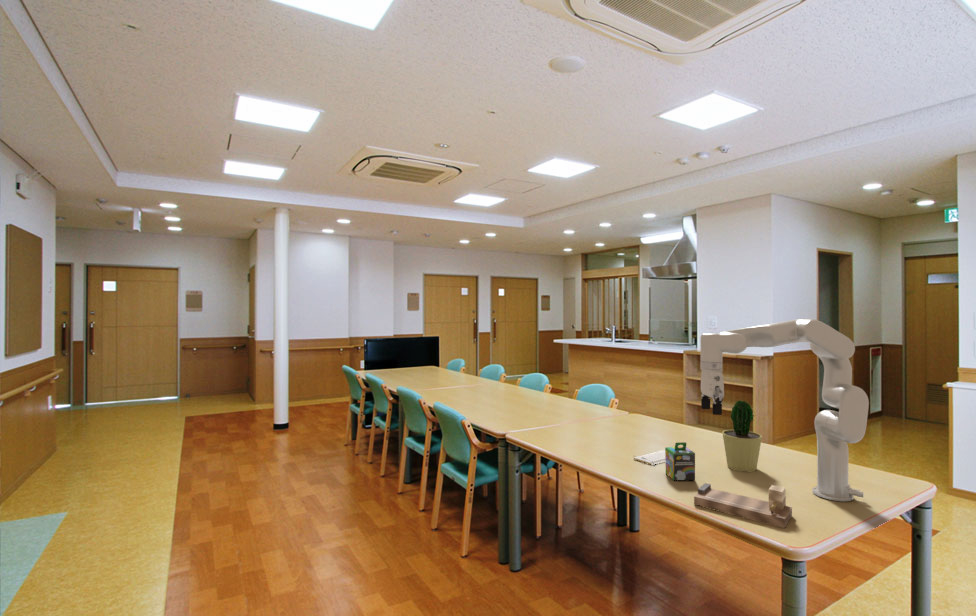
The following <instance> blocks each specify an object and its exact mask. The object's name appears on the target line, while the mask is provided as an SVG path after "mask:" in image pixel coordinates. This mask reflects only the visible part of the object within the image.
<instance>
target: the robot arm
mask: <svg viewBox="0 0 976 616" xmlns="http://www.w3.org/2000/svg"><path fill="white" fill-rule="evenodd" d="M797 343H809V347H810V349H811V351H812V352H813V353H814V355H816V356H817V357H818V358H819V360H820V361H821V362H822V365H823V371H824V372H823V383H822V389H821V398H822V402H824V404H826V405H827V406H830V407H832V408H834V409H838V411H836V410H833V409H832V410H831V409H824V410H821V411H819V412H818V413H817V414H816V415H815V416H814V417H815V418H814V430H815V433H816V435H815V436H816V445H817V446H816V447H817V449H816V450H817V451H816V452H817V458H816V460H817V461H816V462H817V463H816V465H817V466H816V467H817V469H816V472H817V477H816V481H817V482H816V484H817V485H816V486H814V487H812V489H811V490H812V491H811V492H812V493H813V494H814V495H816V496H818V497H819V498H823V499H826V500H830V501H835V502H851V500H852V501H853V500H854V497H855V496H856V497H859V498H864V491H860V489H854V488H852V487H851V484H850V483H849V446H848V444H856V443H859V442H860V441H862V439H864V437H865V434H866V430H867V423H868V415H869V405H870V402H869V397H868V394H867V393H866V392H865V390H864V389H863V388H861V387H859V386H856V385H853V383H852V382H853V381H852V380H853V379H852V378H853V367H852V364H851V361H850V358H852V357H853V356H854V354H855V351H856V346H855V343H854V341H853V340H851V338H849V337H848V336H846V335H845V334H843V333H842V332H839V331H838V330H836V328H835V329H834V328H833V327H832V326H830V325H828V324H826V323H824V322H823V321H820V320H817V319H811V318H796V319H791V320H786V321H781V322H775V323H769V324H762V325H756V326H750V327H743V328H737V329H736V328H735V329H731V330H726V331H721V332H719V333H717V332H716V333H714V332H712V333H710V332H707V333H705V332H704V333H702V334H701V335H700V370H701V376H700V387H699V388H700V394H701V395H700V398H701V399H700V400H701V403H700V406H701V408H700V409H701V410H710V409H711V399H712V402H713V403H712V415H717V416H721V415H723V401H724V397H725V383H724V382H725V381H724V376H723V353H728V354H740V353H743V352H744V351H746V350H747V348H754V347H755V348H773V347H774V348H775V347H781V346H784V345H791V344H797Z"/></svg>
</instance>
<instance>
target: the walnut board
mask: <svg viewBox="0 0 976 616" xmlns="http://www.w3.org/2000/svg"><path fill="white" fill-rule="evenodd" d="M711 485H712V484H711V483H706V482H704V483H703V484H702V485H701V486H700V487H698V488H697V494H696V493H695V495H694V496H693V502H694V503H693V505H694V504H696V505H695V506H697V505H700V506H699V507H701V506H704V507H708V508H711V509H710V510H712V509H715V510H714V511H716V510H719V511H718V512H720V511H722V512H721V513H724V512H726V513H725V514H728V513H729V514H728V515H731V514H733V515H732V516H735V515H736V517H739V516H740V517H739V518H743V517H744V519H747V518H748V520H752V521H755V522H760V523H763V524H766V525H767V524H768V525H770V526H775V527H778V528H781V529H785V528H786V527H787V525H788V524H789V522H790V520H791V519H792V517H793V507H792V506H788V505H786V506H785V507H784V508H783V510H780V509H776V508H775V509H774V510H773V513H771V511H770V510H769V508H770V507H769V501H767V500H762V499H757V498H754V497H749V496H744V495H741V494H737V493H731V492H728V491H724V490H720V489H715V488H712V487H711ZM704 507H703V508H704ZM708 508H707V509H708Z"/></svg>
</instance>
